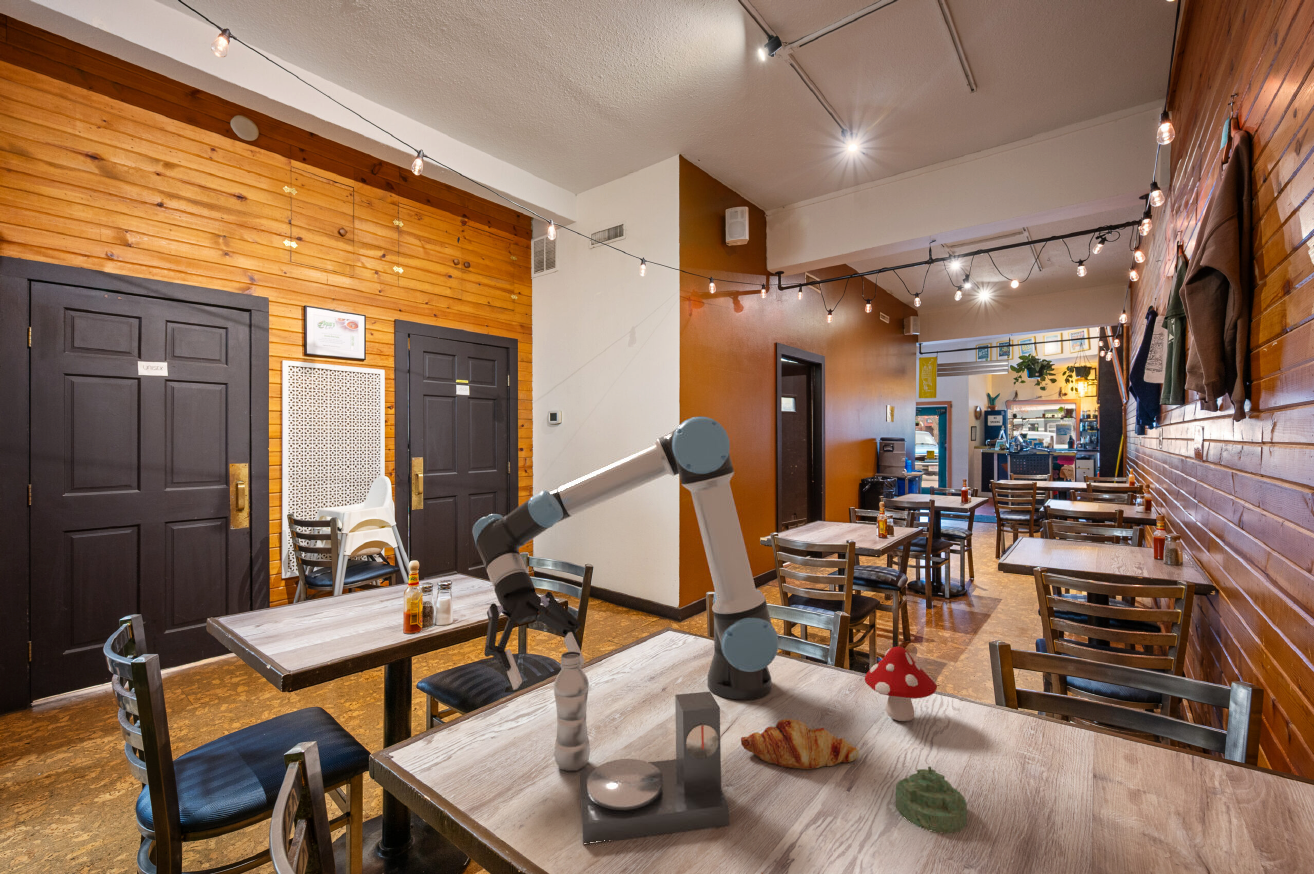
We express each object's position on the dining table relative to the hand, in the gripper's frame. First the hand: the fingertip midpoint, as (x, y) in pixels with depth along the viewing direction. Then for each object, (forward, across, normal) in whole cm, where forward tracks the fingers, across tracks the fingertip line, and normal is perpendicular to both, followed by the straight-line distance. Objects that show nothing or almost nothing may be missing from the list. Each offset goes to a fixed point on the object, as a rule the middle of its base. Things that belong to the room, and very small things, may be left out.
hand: (550, 675), depth 107 cm
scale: (+27, -4, +6) cm, 28 cm away
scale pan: (+23, 0, +7) cm, 24 cm away
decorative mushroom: (+38, -60, +17) cm, 73 cm away
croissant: (+34, -32, +12) cm, 49 cm away
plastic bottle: (+15, -1, -7) cm, 16 cm away
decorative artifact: (+50, -34, +28) cm, 67 cm away
